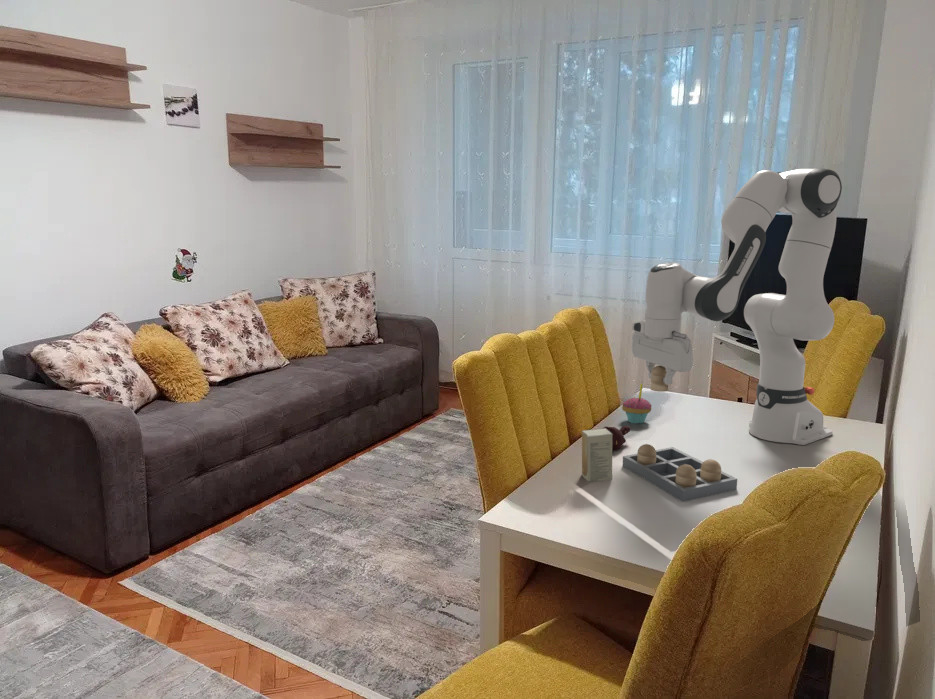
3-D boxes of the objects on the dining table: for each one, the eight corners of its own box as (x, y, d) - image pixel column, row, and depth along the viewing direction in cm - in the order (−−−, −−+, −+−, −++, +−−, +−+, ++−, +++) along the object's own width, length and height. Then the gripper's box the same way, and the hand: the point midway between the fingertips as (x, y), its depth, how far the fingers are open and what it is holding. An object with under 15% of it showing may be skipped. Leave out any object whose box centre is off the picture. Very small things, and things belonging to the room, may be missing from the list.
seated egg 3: (710, 480, 155) (712, 455, 154) (724, 487, 151) (726, 461, 150) (695, 483, 154) (697, 458, 152) (709, 491, 150) (710, 465, 148)
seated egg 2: (686, 485, 153) (687, 460, 151) (699, 493, 149) (701, 466, 148) (670, 489, 151) (672, 463, 150) (683, 496, 147) (685, 470, 146)
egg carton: (671, 459, 171) (672, 446, 170) (736, 493, 151) (737, 478, 150) (622, 469, 165) (622, 456, 164) (682, 505, 145) (683, 490, 144)
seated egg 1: (647, 464, 165) (649, 440, 164) (659, 470, 162) (660, 446, 160) (633, 467, 164) (634, 443, 162) (644, 473, 160) (645, 449, 159)
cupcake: (632, 415, 207) (634, 377, 204) (656, 421, 200) (658, 382, 198) (616, 421, 201) (617, 382, 198) (640, 428, 195) (642, 388, 192)
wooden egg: (660, 386, 175) (661, 363, 174) (671, 390, 171) (673, 366, 170) (646, 388, 174) (647, 364, 172) (657, 392, 170) (658, 368, 168)
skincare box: (605, 476, 161) (607, 427, 159) (612, 483, 157) (614, 433, 155) (580, 478, 160) (581, 429, 158) (586, 485, 156) (587, 435, 154)
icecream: (606, 439, 168) (641, 430, 178) (584, 425, 173) (620, 417, 183) (598, 462, 170) (634, 453, 180) (577, 448, 176) (613, 439, 185)
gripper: (701, 334, 161) (697, 389, 164) (647, 321, 179) (645, 371, 182) (679, 336, 159) (676, 392, 162) (628, 322, 177) (626, 373, 180)
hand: (659, 381), depth 172 cm, fingers closed on wooden egg, 4 cm apart
